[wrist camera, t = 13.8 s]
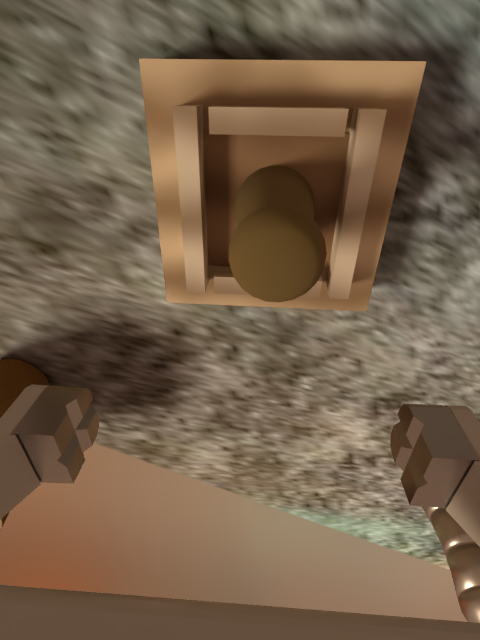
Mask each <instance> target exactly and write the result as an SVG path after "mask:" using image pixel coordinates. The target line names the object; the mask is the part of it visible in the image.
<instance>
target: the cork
mask: <svg viewBox="0 0 480 640" xmlns="http://www.w3.org/2000/svg"><path fill="white" fill-rule="evenodd" d="M314 210H315V202H314V196H313V191H312V189H311V187H310V185H309V183H308V182H307V180H306V179H305V178H304V177H303V176H302V175H301V174H300V173H298V172H297V171H295V170H293V169H290V168H288V167H286V166H273V165H272V166H268V167H264V168H261V169H258V170H257V171H255V172H254V173H252V174H251V175H249V176H248V177H247V178H246V180H245V181H244V182H243V184H242V185H241V186H240V188H239V191H238V193H237V196H236V199H235V215H236V221H237V227H236V229H235V231H234V234H233V236H232V239H231V242H230V245H229V264H230V267H231V270H232V274H233V276H234V278H235V280H236V281H237V282H238V284H239V285H240V287H241V288H242V289H243V290H244V291H246V292H247V293H248V294H250V295H251V296H252V297H255V298H258V299H260V300H263V301H267V302H284V301H289V300H294V299H296V298H298V297H300V296H302V295H304V294H306V293H307V292H308V291H309V290H310V289H311V288H312V287H313V286H314V285H315V284H316V283H317V281H318V280H319V278H320V276H321V274H322V272H323V270H324V266H325V260H326V255H327V251H326V244H325V238H324V236H323V234H322V232H321V230H320V228H319V227H318V225H317V223H316V222H315V221H314Z"/></svg>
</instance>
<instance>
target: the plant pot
mask: <svg viewBox="0 0 480 640" xmlns="http://www.w3.org/2000/svg"><path fill="white" fill-rule="evenodd" d="M32 384H34V385H47V386H50V384H49V381H48V379H47V378H46V376H45V375H44V374H43V373H42V372H41V371H40V370H39V369H37V368H36V367H34V366H33V365H31V364H29V363H27V362H24V361H21V360H17V359H3V360H0V418H1V417H2V416H3V415H4V413H5V412H6V411H7V410H8V409H9V407H10V406H11V405H12V404H13V402H14V401H15V400H16V399H17V398H18V396H19V395H20V394H21V393H22V392H23V390H24V389H25V388H26V387H28V386H30V385H32ZM8 514H9V512H8V513H7V514H6V515H5V516H4V517H3V518H2V519H0V530H1V528H2V526H3V524H4V522H5V520H6V518H7V516H8Z"/></svg>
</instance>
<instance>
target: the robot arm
mask: <svg viewBox="0 0 480 640" xmlns="http://www.w3.org/2000/svg"><path fill="white" fill-rule="evenodd" d="M92 400H93V396H92V394H91V391H90V389H87V388H78V387H65V386H52V385H50V386H47V385H34V384H32V385H30V386H28V387H26V388H25V389H24V390H23V392H22V393H21V394H20V395H19V396H18V398H17V399H16V400H15V401H14V402H13V404H12V405H11V406H10V407H9V409H8V410H7V411H6V412H5V413H4V415H3V416H2V417H1V418H0V519H2V518H3V517H4V516H5V515H6V514H7V513H8V512H10V511H11V510H12V509H13V508H14V507H15V506H16V505H17V504H18V503H20V502H21V501H22V500H23V499H24V498H25V497H26V496H28V495H29V494H30V493H31V492H32V491H33V490H34V489H36V488H37V487H38V486H39V485H40V482H48V483H49V482H50V483H74V481H75V479H76V477H77V475H78V473H79V471H80V469H81V467H82V465H83V463H84V461H85V458H84V455H83V452H84V451H85V450H87V449H88V448H89V447H91V446H92V445H93V443H94V441H95V439H96V436H97V432H98V428H99V416H98V412H97V410H96V409H95V408H94V407H92V406H91V405H90V403H91V402H92ZM398 416H399V419H400V422H399V423H397V424H396V425H394V426H393V429H392V433H391V444H390V446H391V451H392V456H393V459H394V462H395V464H397V465H398V466H399V467H400V468H401V469H402V470H403V471H404V472H403V474H402V477H401V482H402V485H403V488H404V490H405V493H406V496H407V499H408V502H409V505H416V506H427V507H438V508H447V509H446V511H447V512H448V513H449V514H450V515H451V516H452V517H453V519H454V520H455V521H456V522H457V523H458V524H459V525H460V526H461V527H462V528H463V529H464V530H465V532H466V533H467V534H468V535H469V536H470V537H471V538H472V539H473V540H474V541H475V542H476V544H477V545H478V546H479V547H480V423H479V421H478V420H477V418H476V417H475V415H474V414H473V412H472V411H471V409H469V408H468V407H467V406H447V405H445V406H443V405H422V404H403V405H402V406H401V407H400V410H399V412H398ZM0 640H480V623H473V622H461V621H448V620H435V619H422V618H411V617H398V616H385V615H372V614H359V613H347V612H335V611H323V610H309V609H297V608H283V607H272V606H259V605H247V604H235V603H222V602H209V601H197V600H184V599H171V598H159V597H147V596H134V595H121V594H109V593H96V592H82V591H70V590H57V589H45V588H33V587H20V586H7V585H0Z"/></svg>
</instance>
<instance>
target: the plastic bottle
mask: <svg viewBox="0 0 480 640" xmlns="http://www.w3.org/2000/svg"><path fill="white" fill-rule="evenodd" d="M422 508H423V510H424V511H425V513H426V515H427V517H428V518H429V520H430V521H431V523H432V525H433V527H434V530H435V532H436V534H437V536H438V538H439V540H440V542H441V545H442V547H443V550H444V553H445V555H446V558H447V562H448V565H449V568H450V570H451V573H452V578H453V582H454V586H455V590H456V594H457V597H458V601H459V605H460V608H461V611H462V613H463V615H464V617H465V618H466V620H467V621H468V622H473V623H480V547H479V546H478V545H477V544H476V542H475V541H474V540H473V539H472V538H471V537H470V536H469V535H468V534H467V533H466V532H465V530H464V529H463V528H462V527H461V526H460V525H459V524H458V523H457V522H456V521H455V520H454V519H453V517H452V516H451V515H450V514H449V513H448V512H447V511H446V509H447V508H438V507H427V506H422Z"/></svg>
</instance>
